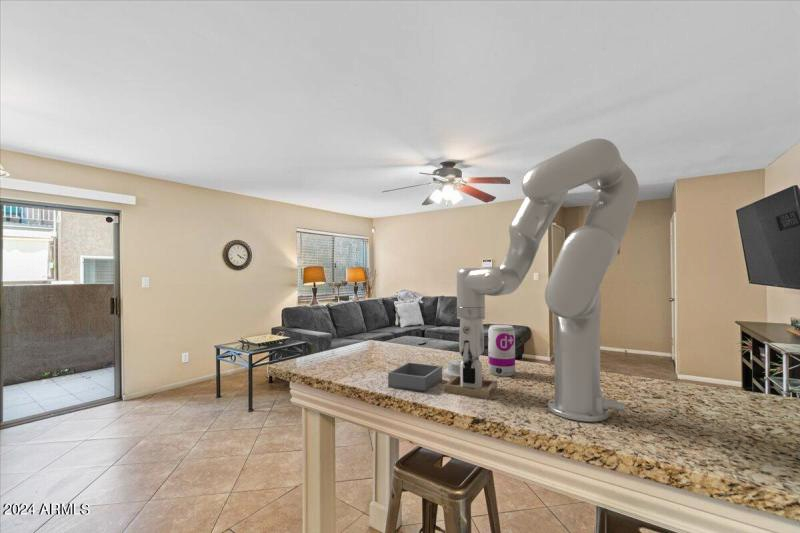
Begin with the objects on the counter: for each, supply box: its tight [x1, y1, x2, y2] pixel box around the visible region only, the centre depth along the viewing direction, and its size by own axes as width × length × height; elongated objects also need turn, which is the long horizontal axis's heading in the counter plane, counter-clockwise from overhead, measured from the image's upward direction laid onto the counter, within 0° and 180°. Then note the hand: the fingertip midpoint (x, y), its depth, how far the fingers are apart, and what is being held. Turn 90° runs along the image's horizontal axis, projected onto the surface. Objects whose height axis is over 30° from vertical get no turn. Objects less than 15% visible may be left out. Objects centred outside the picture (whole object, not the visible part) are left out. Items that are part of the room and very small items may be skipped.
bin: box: [387, 362, 443, 393], centre depth 105 cm, size 11×13×4 cm
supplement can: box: [487, 324, 516, 377], centre depth 116 cm, size 8×8×15 cm
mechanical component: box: [443, 359, 463, 379], centre depth 114 cm, size 10×4×10 cm
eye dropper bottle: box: [460, 354, 483, 389], centre depth 99 cm, size 4×6×12 cm
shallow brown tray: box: [443, 376, 498, 400], centre depth 99 cm, size 12×10×2 cm
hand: (471, 379), depth 99 cm, fingers closed on eye dropper bottle, 4 cm apart
